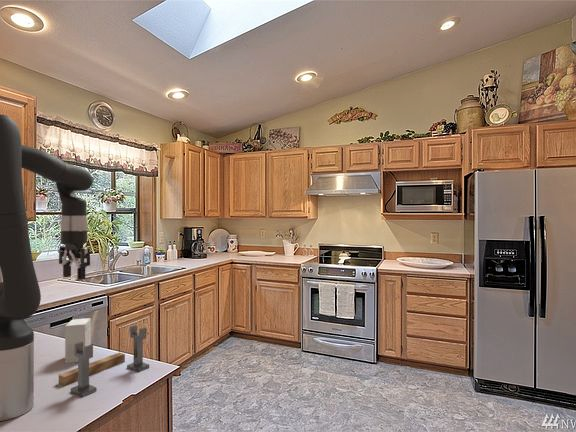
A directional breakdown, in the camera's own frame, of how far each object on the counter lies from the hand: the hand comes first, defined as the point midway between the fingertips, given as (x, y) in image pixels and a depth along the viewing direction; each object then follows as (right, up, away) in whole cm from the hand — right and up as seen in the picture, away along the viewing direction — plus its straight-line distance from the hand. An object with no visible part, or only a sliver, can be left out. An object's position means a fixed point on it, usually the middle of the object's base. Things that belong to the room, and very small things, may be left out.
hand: (74, 278), depth 114 cm
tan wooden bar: (+8, -30, -2) cm, 31 cm away
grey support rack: (+17, -30, -7) cm, 35 cm away
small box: (-4, -30, +9) cm, 32 cm away
